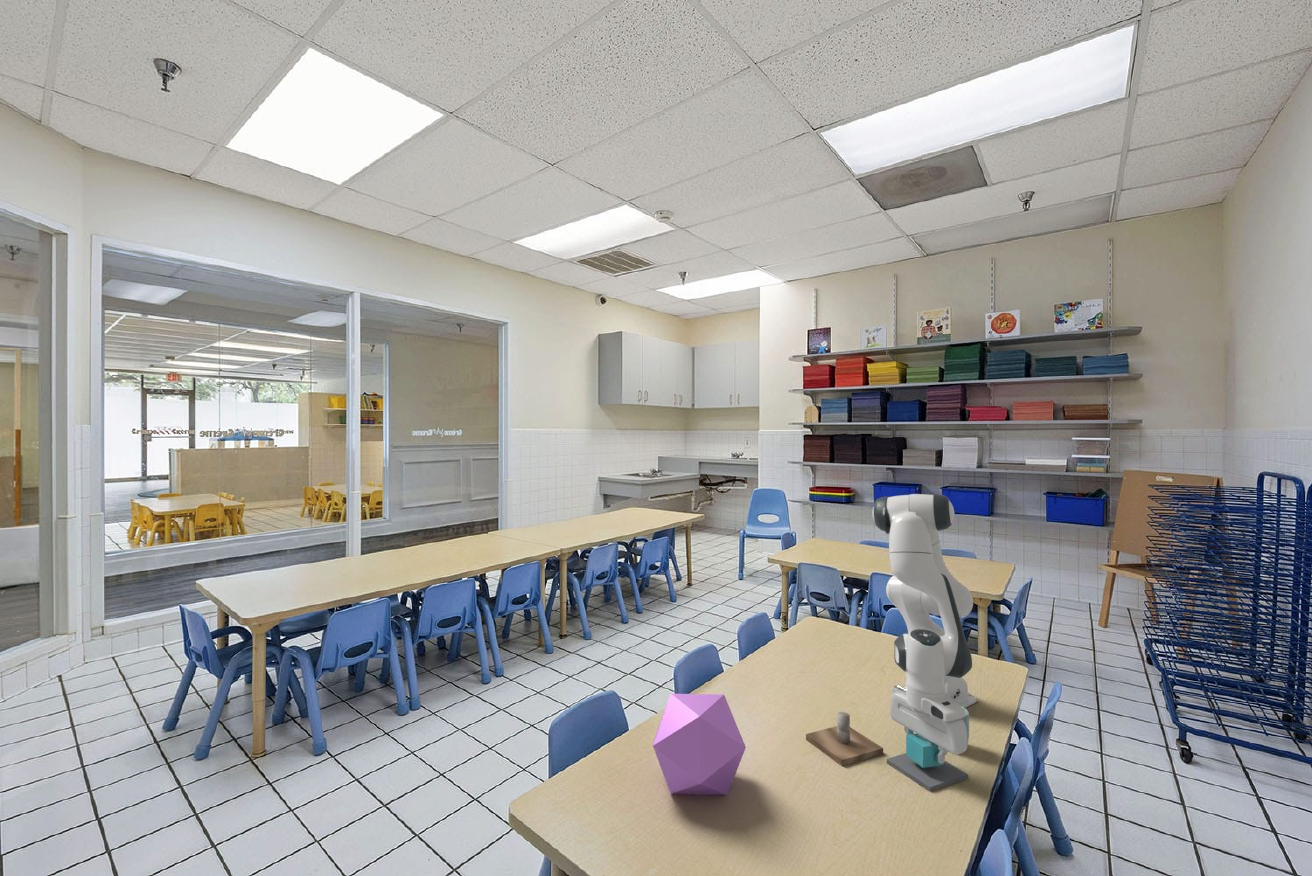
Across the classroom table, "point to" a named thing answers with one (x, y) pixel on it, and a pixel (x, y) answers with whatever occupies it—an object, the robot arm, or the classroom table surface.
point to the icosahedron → (698, 744)
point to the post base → (842, 749)
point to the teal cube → (921, 750)
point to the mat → (927, 772)
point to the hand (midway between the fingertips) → (926, 753)
